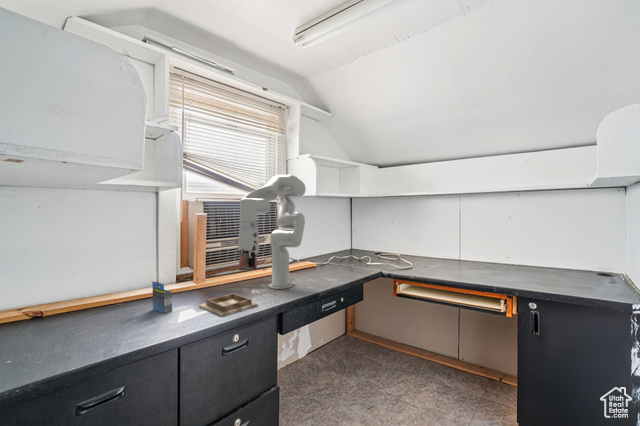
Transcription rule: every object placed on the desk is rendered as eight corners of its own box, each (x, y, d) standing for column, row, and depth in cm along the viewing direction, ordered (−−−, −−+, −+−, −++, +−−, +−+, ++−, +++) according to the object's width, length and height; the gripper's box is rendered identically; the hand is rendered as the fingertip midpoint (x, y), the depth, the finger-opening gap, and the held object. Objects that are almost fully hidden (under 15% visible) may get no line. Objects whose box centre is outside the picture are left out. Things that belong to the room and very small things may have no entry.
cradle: (235, 297, 148) (235, 291, 148) (257, 306, 136) (257, 299, 136) (199, 306, 135) (199, 299, 135) (221, 316, 123) (221, 309, 123)
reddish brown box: (239, 270, 135) (239, 248, 135) (238, 269, 138) (238, 247, 138) (257, 269, 138) (257, 247, 138) (256, 268, 141) (256, 246, 141)
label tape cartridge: (172, 311, 129) (172, 282, 129) (163, 313, 126) (163, 284, 125) (160, 307, 134) (160, 279, 133) (152, 309, 130) (151, 281, 130)
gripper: (267, 226, 135) (266, 267, 136) (243, 224, 146) (243, 262, 146) (253, 226, 130) (252, 269, 130) (230, 225, 141) (229, 264, 141)
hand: (247, 265), depth 138 cm, fingers closed on reddish brown box, 4 cm apart
